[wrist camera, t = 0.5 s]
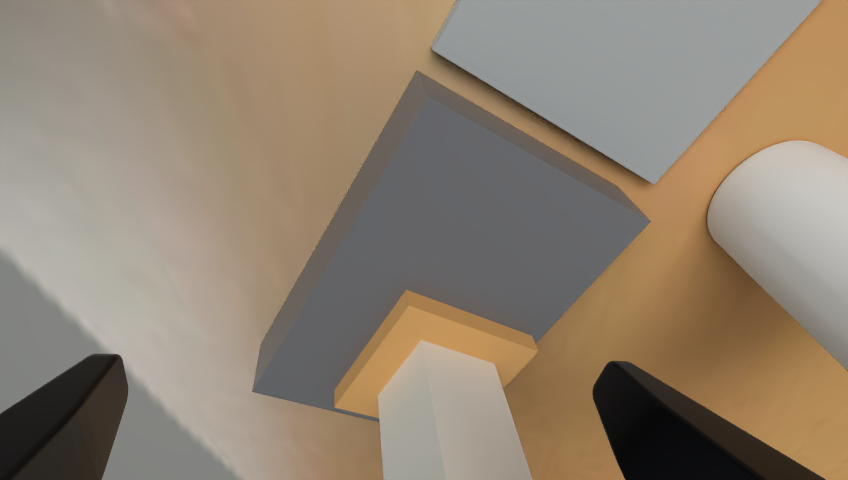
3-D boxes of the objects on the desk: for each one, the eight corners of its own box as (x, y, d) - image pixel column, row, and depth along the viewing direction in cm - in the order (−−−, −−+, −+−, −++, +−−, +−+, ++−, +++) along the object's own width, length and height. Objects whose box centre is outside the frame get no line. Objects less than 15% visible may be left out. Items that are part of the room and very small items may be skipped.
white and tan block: (335, 346, 26) (331, 616, 16) (399, 250, 23) (442, 511, 13) (444, 379, 29) (496, 625, 19) (515, 297, 26) (620, 540, 16)
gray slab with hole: (260, 344, 25) (252, 391, 23) (416, 70, 18) (428, 96, 16) (437, 393, 30) (445, 437, 27) (617, 186, 23) (650, 221, 20)
